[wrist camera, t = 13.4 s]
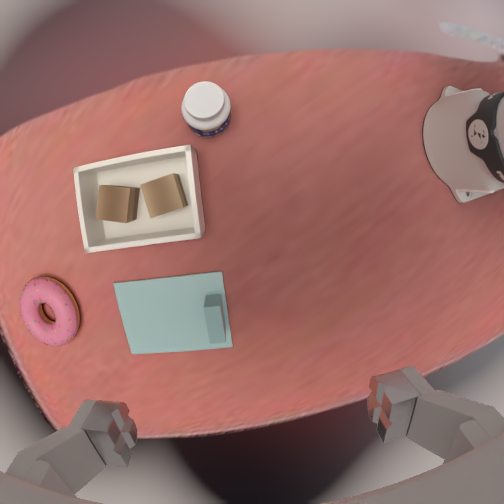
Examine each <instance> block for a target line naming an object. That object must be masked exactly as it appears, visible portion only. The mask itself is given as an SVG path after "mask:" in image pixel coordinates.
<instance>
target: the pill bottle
mask: <svg viewBox="0 0 504 504" xmlns="http://www.w3.org/2000/svg"><path fill="white" fill-rule="evenodd" d="M181 109H182V115H183V117H184V119H185V121H186V122H187V124H188V125H189V127H190V128H191V130H192V131H193V132H194V133H195V134H197V135H198V136H201V137H204V138H212V137H216V136H218V135H220V134H221V133H223V132H224V131H225V130H226V128H227V127H228V125H229V122H230V111H231V104H230V99H229V97H228V95H227V93H226V92H225V91H224V90H223V89H221V88H220V87H219V86H218V85H216V84H214V83H212V82H207V81H204V82H199V83H196V84H194V85H192V86H191V87H190V88H189V89H188V90H187V92H186V94H185V97H184V99H183V101H182V107H181Z"/></svg>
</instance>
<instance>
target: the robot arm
mask: <svg viewBox="0 0 504 504" xmlns="http://www.w3.org/2000/svg"><path fill="white" fill-rule="evenodd" d="M423 139H424V146H425V150H426V154H427V157H428V159H429V162H430V164H431V166H432V168H433V170H434V171H435V173H436V174H437V175H438V177H439V178H440V179H441V180H442V181H443V182H445V183H446V184H447V185H448V186H449V187H450V189H451V191H452V193H453V195H454V197H455V198H456V200H457V201H458V202H459V203H465V202H468V201H471V200H473V199H476V198H479V197H482V196H484V195H487V194H490V193H494V192H495V191H498V190H501V189H503V188H504V92H497V93H494V94H492V95H490V94H489V92H486V91H483V90H482V89H481V88H476V89H471V90H466V91H461V90H459V89H457V88H455V87H453V86H446V87H445V88H444V89H443V91H442V94H441V97H440V99H439V100H438V101H437V102H435V103H434V104H433V105H432V106H431V107H430V109H429V110H428V112H427V115H426V117H425V121H424V127H423ZM466 192H467V195H466ZM369 387H370V389H371V390H372V392H371V393H370V395H369V396H368V402H367V405H368V412H369V416H370V418H371V420H372V421H373V422H375V423H377V424H378V426H377V432H378V434H379V435H380V437H381V439H382V441H383V443H386V442H389V441H393V440H396V439H400V438H403V437H406V436H407V438H408V439H410V440H412V441H413V442H415V443H417V444H418V445H420V446H422V447H424V448H425V449H427V450H429V451H431V452H432V453H434V454H436V455H438V456H440V457H441V458H443V459H445V460H444V463H443V465H441V466H438V467H436V468H434V469H432V470H429V471H427V472H424V473H422V474H420V475H417V476H414V477H412V478H409V479H406V480H404V481H401V482H398V483H395V484H392V485H389V486H386V487H383V488H380V489H377V490H374V491H370V492H367V493H363V494H360V495H356V496H352V497H348V498H345V499H340V500H336V501H331V502H327V503H322V504H504V417H503V416H501V414H500V413H499V412H498V411H497V410H496V409H495V408H494V407H492V406H489V405H485V404H482V403H479V402H475V401H472V400H469V399H466V398H462V397H459V396H456V395H453V394H450V393H447V392H444V391H441V390H436V391H435V390H434V389H433V388H432V387H431V386H430V385H429V383H428V382H427V381H426V380H425V379H424V378H423V377H422V375H421V374H420V373H419V372H418V371H417V370H416V368H415V367H414V366H408V367H405V368H402V369H398V370H396V371H392V372H389V373H385V374H381V375H377V376H373V377H371V379H370V384H369ZM128 413H129V409H128V407H127V405H126V403H124V402H114V401H102V400H89V399H87V400H85V401H84V402H83V403H82V405H81V406H80V408H79V410H78V411H77V413H76V415H75V416H74V418H73V420H72V421H71V423H70V425H69V426H68V427H63V428H62V429H60V430H58V431H56V432H55V433H53V434H51V435H50V436H47V437H46V438H44V439H42V440H40V441H38V442H37V443H35V444H33V445H31V446H29V447H28V448H26V449H24V450H22V451H20V452H18V454H17V455H16V457H15V458H14V460H13V462H12V463H11V465H10V466H9V468H8V469H7V471H6V473H3V472H1V471H0V504H101V503H97V502H92V501H88V500H83V499H80V498H77V497H76V496H75V494H76V493H77V492H78V491H79V490H80V489H81V488H83V487H84V486H85V485H86V484H87V483H88V482H89V481H90V480H92V479H93V478H94V477H95V476H96V475H97V474H98V473H99V472H101V471H102V470H103V469H104V468H105V467H106V465H108V466H117V467H118V466H119V467H128V465H129V462H130V459H131V456H132V453H131V451H130V448H132V447H133V446H134V445H135V444H136V441H137V428H136V424H135V422H134V420H133V419H131V418H130V417H129V416H128Z"/></svg>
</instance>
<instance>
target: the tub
mask: <svg viewBox="0 0 504 504" xmlns="http://www.w3.org/2000/svg"><path fill="white" fill-rule="evenodd" d="M73 169H74V180H75V189H76V198H77V205H78V213H79V219H80V226H81V232H82V238H83V243H84V249H85V253H90V252H97V251H104V250H112V249H119V248H127V247H134V246H142V245H149V244H157V243H165V242H173V241H181V240H189V239H197V238H201V237H202V235H203V234H204V232H205V222H204V214H203V205H202V197H201V188H200V180H199V170H198V161H197V151H196V150H195V149H194V148H193V147H192V146H191V145H185V146H178V147H172V148H165V149H160V150H154V151H148V152H143V153H138V154H132V155H127V156H123V157H118V158H113V159H109V160H104V161H100V162H95V163H91V164H87V165H83V166H79V167H75V168H73ZM172 173H175V174H179V176H180V179H181V183H182V186H183V189H184V193H185V196H186V199H187V203H188V206H186V207H184V208H181V209H178V210H174V211H171V212H168V213H165V214H162V215H159V216H156V217H153V218H150V216H149V213H148V209H147V206H146V203H145V200H144V196H143V193H142V190H141V186H140V185H141V184H144V183H146V182H149V181H152V180H155V179H158V178H160V177H163V176H166V175H169V174H172ZM99 185H118V186H128V187H137V188H140V192H139V201H138V209H137V219H136V220H134V221H131V222H128V223H120V222H113V221H105V220H98V219H96V213H97V202H98V192H99Z"/></svg>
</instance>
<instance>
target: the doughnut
mask: <svg viewBox="0 0 504 504" xmlns="http://www.w3.org/2000/svg"><path fill="white" fill-rule="evenodd" d="M21 291H22V290H21ZM42 303H43V304H44V303H46V304H48V305H49V306H50V308H52V309H53V311H54V313H55V314H54V315H55V316H56V317H55V319H56V320H55V322H53V321H51V320H49V319H48V318H47V317H46V316H45V314H44V312H43V310H42ZM20 311H21V316H22V319H23V321H24V323H25V325H26V327H27V328H28V330H29V331H30V332H31V334H32V335H33V336H34V337H35V338H37V339H38V340H39V341H41V342H43V343H44V344H47V345H51V346H52V347H53V346H62V345H65V344H67V343H69V342H70V341H72V340H73V338H74V337H75V335H76V333H77V331H78V327H79V322H80V316H79V310H78V306H77V303H76V301H75V299H74V297H73V295H72V294H71V292H70V291H69V290H68V289H67V288H66V287H65V286H64V285H63V284H62V283H60V282H59V281H57V280H55V279H53V278H49V277H37V278H34V279H32V280H30V281H29V282H28V283H27V285H25V288H24V289H23V291H22V294H21V297H20Z"/></svg>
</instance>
